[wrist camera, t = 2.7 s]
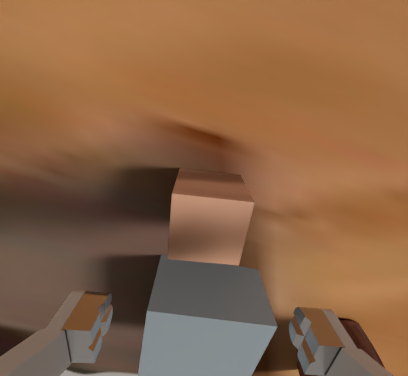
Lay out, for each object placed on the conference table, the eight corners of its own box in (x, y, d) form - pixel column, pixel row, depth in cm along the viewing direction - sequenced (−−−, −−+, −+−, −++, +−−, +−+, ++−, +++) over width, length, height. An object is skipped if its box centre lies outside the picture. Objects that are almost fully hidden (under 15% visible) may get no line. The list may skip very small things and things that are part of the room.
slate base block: (161, 253, 20) (147, 310, 15) (257, 267, 21) (277, 326, 16) (151, 318, 24) (136, 383, 19) (233, 328, 25) (242, 393, 20)
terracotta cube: (179, 167, 17) (172, 193, 12) (240, 174, 17) (254, 202, 12) (175, 219, 19) (167, 259, 14) (229, 225, 19) (238, 265, 14)
